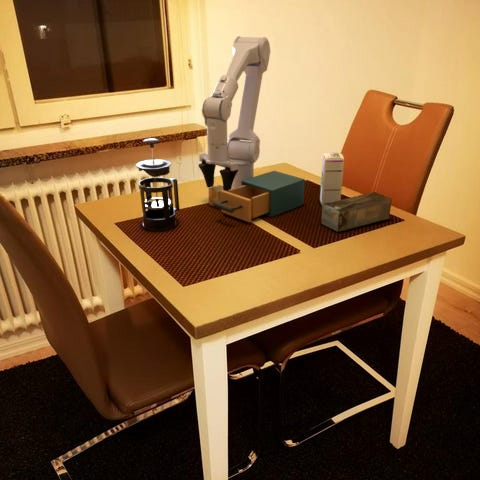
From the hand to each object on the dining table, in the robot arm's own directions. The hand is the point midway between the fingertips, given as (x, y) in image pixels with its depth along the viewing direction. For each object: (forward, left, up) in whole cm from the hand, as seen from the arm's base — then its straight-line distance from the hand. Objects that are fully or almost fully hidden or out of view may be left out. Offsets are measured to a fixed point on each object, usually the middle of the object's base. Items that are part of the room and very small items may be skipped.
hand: (218, 189), depth 148 cm
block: (0, 0, -5) cm, 5 cm away
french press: (0, -22, -5) cm, 22 cm away
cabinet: (+12, +11, -5) cm, 17 cm away
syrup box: (+23, +25, -5) cm, 34 cm away
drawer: (+12, -1, -4) cm, 13 cm away
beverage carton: (+37, +18, -5) cm, 42 cm away
